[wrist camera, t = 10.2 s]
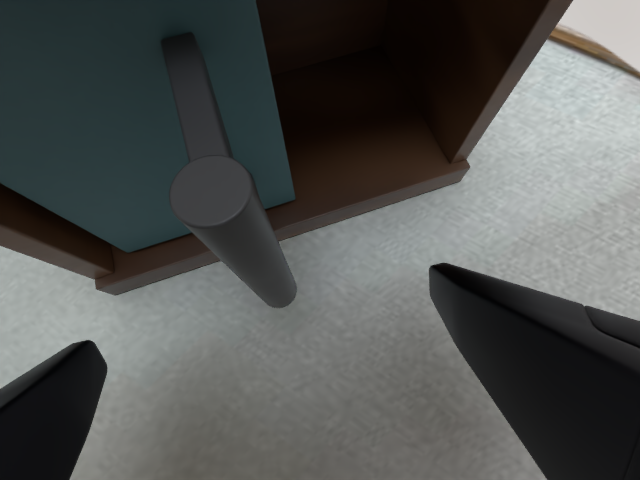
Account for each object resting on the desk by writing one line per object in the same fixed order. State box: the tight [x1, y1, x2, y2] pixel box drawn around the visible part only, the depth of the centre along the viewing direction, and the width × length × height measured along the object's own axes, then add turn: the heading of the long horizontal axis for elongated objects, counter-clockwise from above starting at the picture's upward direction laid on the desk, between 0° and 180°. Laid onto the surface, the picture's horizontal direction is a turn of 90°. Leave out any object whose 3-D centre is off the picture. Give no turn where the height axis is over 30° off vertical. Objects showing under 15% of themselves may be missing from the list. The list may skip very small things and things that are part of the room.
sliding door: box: [0, 0, 297, 308], centre depth 10 cm, size 6×9×11 cm
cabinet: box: [0, 0, 573, 295], centre depth 13 cm, size 11×20×15 cm, turn 109°
